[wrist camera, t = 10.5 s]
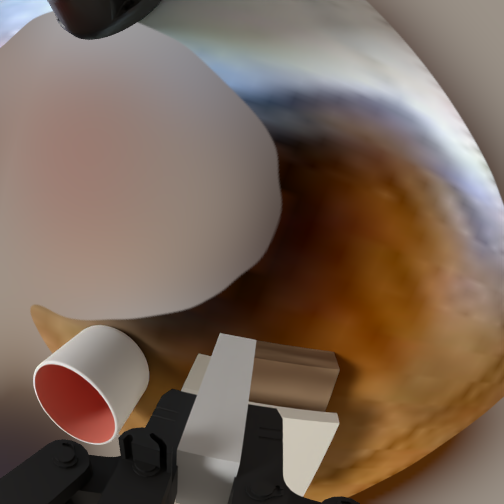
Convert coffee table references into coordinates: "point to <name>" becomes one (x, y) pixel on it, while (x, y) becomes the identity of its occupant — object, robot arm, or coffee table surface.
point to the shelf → (288, 433)
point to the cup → (92, 383)
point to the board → (293, 376)
